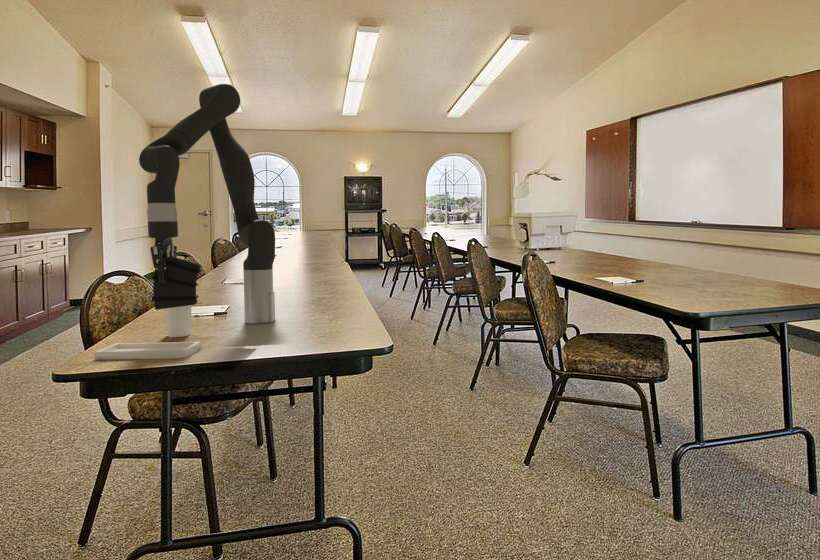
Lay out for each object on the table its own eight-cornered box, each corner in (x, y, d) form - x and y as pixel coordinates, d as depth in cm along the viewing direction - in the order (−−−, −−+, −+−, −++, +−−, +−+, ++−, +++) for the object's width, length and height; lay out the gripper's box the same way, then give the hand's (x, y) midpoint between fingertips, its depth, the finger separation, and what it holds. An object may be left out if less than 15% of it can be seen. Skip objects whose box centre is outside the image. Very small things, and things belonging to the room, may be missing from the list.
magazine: (144, 303, 159) (161, 252, 158) (192, 317, 162) (208, 267, 161) (141, 305, 155) (157, 253, 155) (189, 320, 158) (206, 268, 157)
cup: (158, 340, 167) (156, 292, 166) (178, 336, 174) (176, 289, 174) (180, 342, 164) (178, 292, 163) (200, 337, 172) (198, 290, 171)
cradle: (201, 349, 154) (200, 341, 153) (186, 358, 142) (186, 350, 141) (116, 350, 152) (116, 343, 152) (94, 359, 140) (94, 351, 140)
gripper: (167, 219, 149) (171, 284, 151) (185, 220, 164) (188, 280, 165) (137, 220, 149) (141, 285, 150) (158, 221, 163) (161, 281, 164)
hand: (166, 282), depth 158 cm, fingers closed on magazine, 4 cm apart
